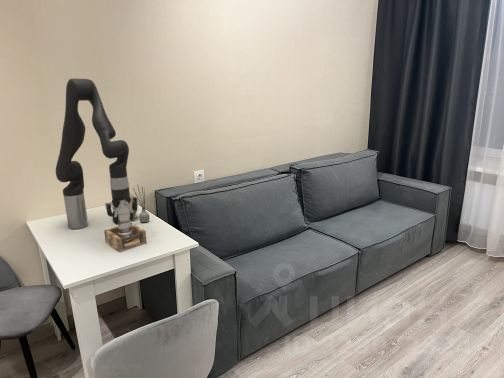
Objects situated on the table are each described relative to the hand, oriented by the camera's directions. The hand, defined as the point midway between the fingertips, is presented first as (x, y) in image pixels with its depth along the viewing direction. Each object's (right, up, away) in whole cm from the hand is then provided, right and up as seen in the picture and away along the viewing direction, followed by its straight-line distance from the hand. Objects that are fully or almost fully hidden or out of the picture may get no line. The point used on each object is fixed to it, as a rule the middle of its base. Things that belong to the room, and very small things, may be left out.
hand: (123, 222), depth 168 cm
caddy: (0, -10, +3) cm, 10 cm away
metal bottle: (0, -9, +3) cm, 9 cm away
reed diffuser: (0, -3, +27) cm, 27 cm away
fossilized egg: (-9, -1, +32) cm, 33 cm away
